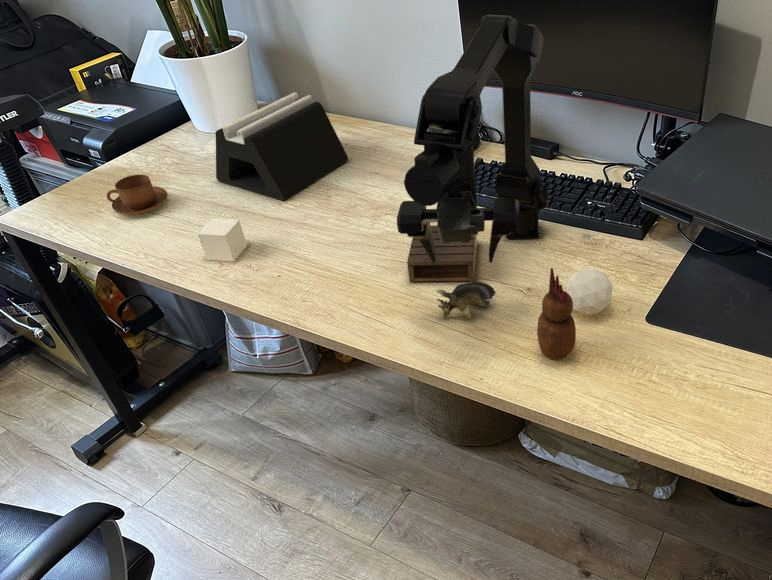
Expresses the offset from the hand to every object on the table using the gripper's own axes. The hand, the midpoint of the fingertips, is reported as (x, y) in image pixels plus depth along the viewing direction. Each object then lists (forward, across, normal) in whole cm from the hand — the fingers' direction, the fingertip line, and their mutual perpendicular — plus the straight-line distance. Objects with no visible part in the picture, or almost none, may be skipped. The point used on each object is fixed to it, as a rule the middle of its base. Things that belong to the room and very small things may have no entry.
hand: (462, 261), depth 107 cm
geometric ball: (+11, +21, 0) cm, 24 cm away
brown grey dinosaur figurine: (+11, 0, 0) cm, 11 cm away
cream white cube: (+11, -50, +20) cm, 55 cm away
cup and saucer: (+11, -77, +40) cm, 88 cm away
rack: (+10, -5, +15) cm, 19 cm away
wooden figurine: (+11, +15, -11) cm, 21 cm away
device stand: (+11, -48, +56) cm, 75 cm away
